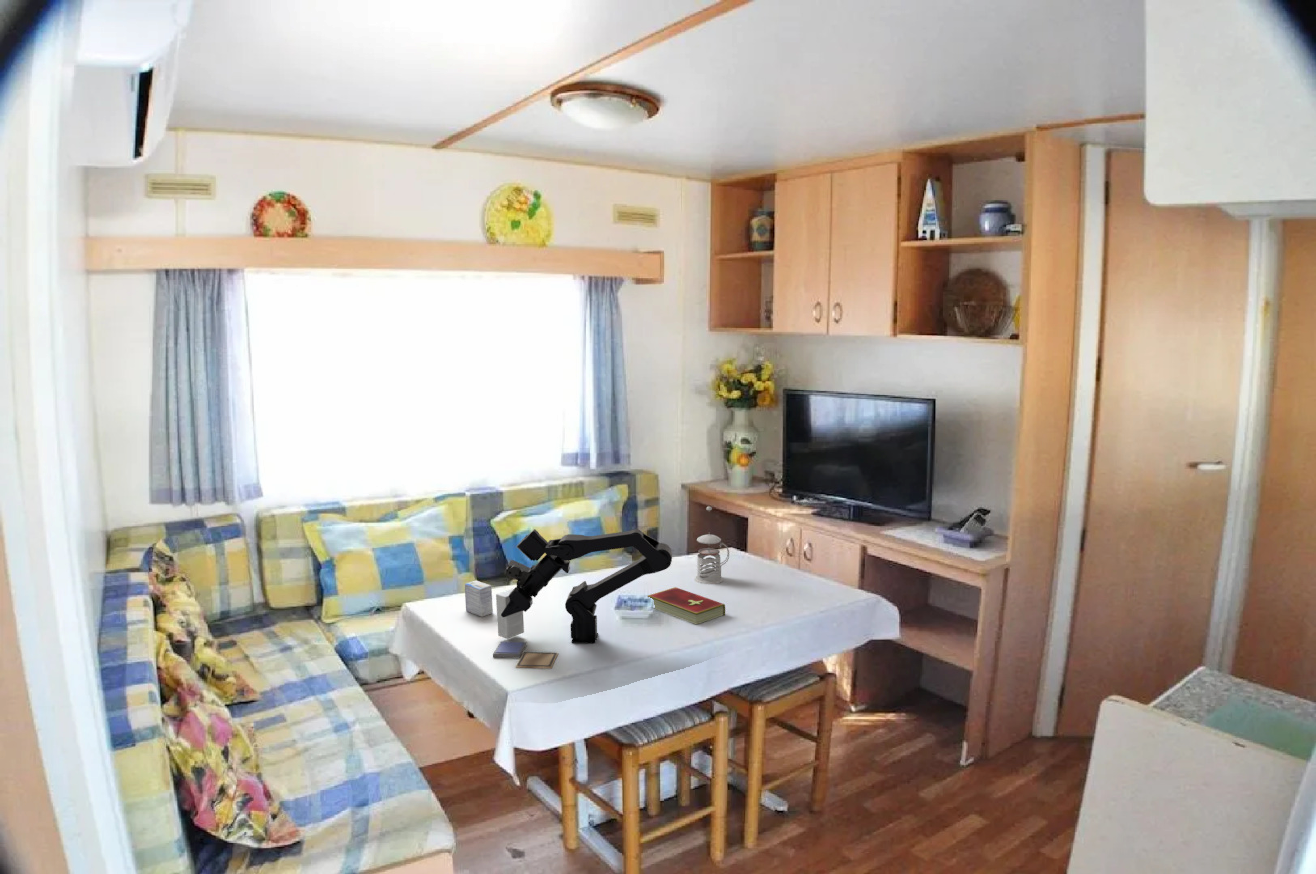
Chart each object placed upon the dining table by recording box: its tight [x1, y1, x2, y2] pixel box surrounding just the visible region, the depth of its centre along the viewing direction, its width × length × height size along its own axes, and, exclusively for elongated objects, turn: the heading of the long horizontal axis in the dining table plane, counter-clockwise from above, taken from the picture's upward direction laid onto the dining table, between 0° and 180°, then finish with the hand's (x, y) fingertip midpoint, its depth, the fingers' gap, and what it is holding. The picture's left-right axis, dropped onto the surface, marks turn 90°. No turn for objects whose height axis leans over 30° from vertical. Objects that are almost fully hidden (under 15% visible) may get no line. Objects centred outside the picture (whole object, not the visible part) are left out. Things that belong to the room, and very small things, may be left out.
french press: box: [694, 506, 730, 585], centre depth 279 cm, size 10×12×25 cm
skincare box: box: [495, 588, 525, 640], centre depth 230 cm, size 6×4×12 cm
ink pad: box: [492, 641, 527, 659], centre depth 222 cm, size 7×8×1 cm
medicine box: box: [464, 580, 494, 617], centre depth 251 cm, size 8×4×9 cm, turn 47°
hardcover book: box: [647, 586, 726, 625], centre depth 252 cm, size 12×21×4 cm, turn 42°
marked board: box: [515, 651, 559, 669], centre depth 216 cm, size 9×9×1 cm
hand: (504, 611), depth 230 cm, fingers closed on skincare box, 7 cm apart
